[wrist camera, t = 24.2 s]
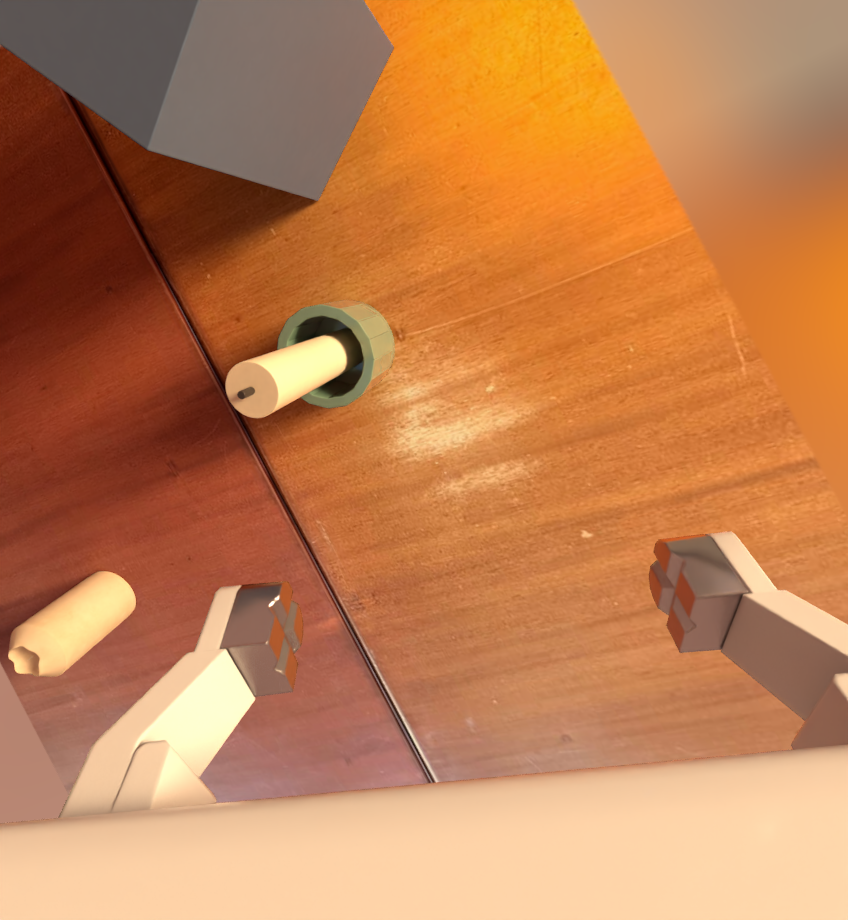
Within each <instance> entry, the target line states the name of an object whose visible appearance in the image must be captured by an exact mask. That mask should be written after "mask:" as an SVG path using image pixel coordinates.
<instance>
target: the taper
mask: <svg viewBox="0 0 848 920" xmlns="http://www.w3.org/2000/svg"><path fill="white" fill-rule="evenodd" d="M363 359H364V357H363V353H362V349H361V344H360V342H359V341H358V339H357V338H356V336H355V335H354V333H353V332H352V330H351V329H349V328H344V329H340V330H337V331H334V332H331V333H328V334H325V335H322V336H319V337H316V338H313V339H310V340H307V341H304V342H301V343H298V344H295V345H291V346H288V347H285V348H282V349H279V350H276V351H273V352H270V353H267V354H264V355H261V356H258V357H255V358H252V359H249V360H246V361H243V362H240V363H238V364H236V365H235V366H233V367H232V368H231V370H230V371H229V373H228V375H227V378H226V383H225V387H226V393H227V396H228V399H229V401H230V402H231V404H232V405H233V406H234V408H235V409H236V410H237V411H239V412H240V413H241V414H243V415H245V416H247V417H251V418H263V417H266V416H268V415H270V414H272V413H273V412H275V411H277V410H279V409H280V408H282V407H284V406H286V405H288V404H289V403H291V402H293V401H295V400H296V399H298V398H300V397H302V396H303V395H305V394H307V393H309V392H311V391H312V390H314V389H316V388H318V387H319V386H321V385H323V384H325V383H327V382H328V381H330V380H332V379H334V378H335V377H337V376H339V375H341V374H342V373H344V372H346V371H348V370H350V369H351V368H353V367H355V366H357V365H358V364H360V363H361V362H362V361H363Z"/></svg>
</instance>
